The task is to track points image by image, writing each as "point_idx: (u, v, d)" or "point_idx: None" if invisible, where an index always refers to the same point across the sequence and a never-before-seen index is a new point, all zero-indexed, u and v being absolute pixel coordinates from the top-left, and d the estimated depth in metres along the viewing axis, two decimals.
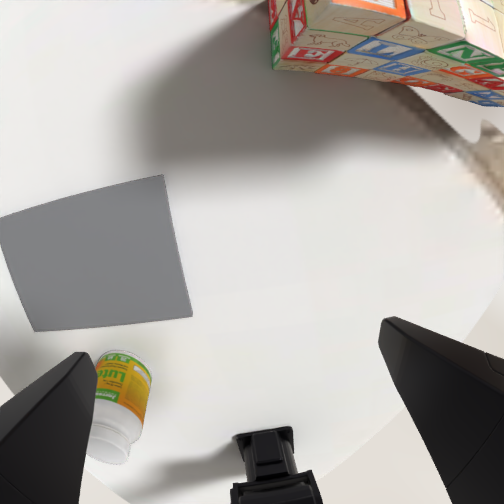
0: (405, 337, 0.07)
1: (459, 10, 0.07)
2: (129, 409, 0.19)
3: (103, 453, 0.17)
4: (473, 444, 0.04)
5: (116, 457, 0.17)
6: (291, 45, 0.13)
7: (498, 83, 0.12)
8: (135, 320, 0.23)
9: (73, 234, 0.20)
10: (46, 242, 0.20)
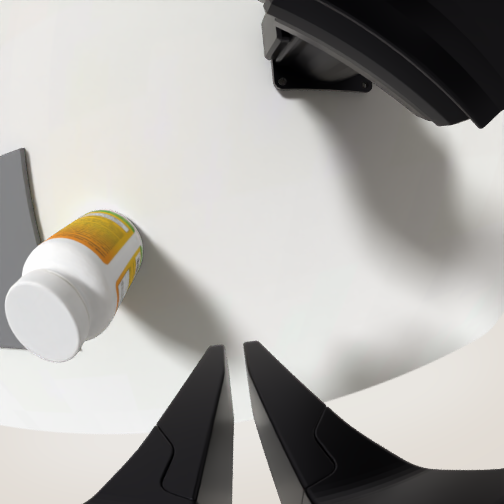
0: (247, 368, 0.07)
1: None
2: None
3: (43, 326, 0.10)
4: None
5: (43, 306, 0.10)
6: None
7: None
8: (27, 215, 0.17)
9: None
10: None
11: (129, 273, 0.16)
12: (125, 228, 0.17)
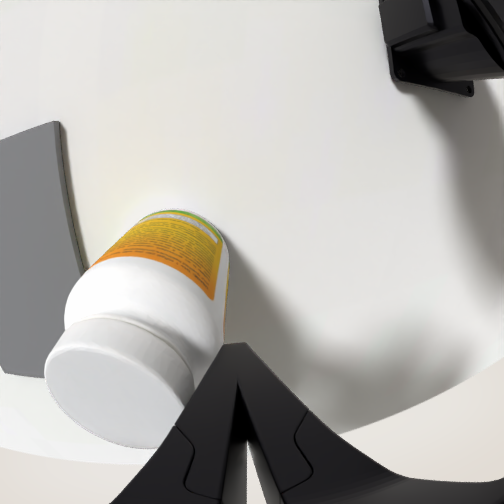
0: (233, 370, 0.07)
1: None
2: (87, 270, 0.08)
3: (119, 409, 0.06)
4: None
5: (124, 385, 0.06)
6: None
7: None
8: (60, 213, 0.13)
9: None
10: None
11: (226, 303, 0.12)
12: (214, 238, 0.13)
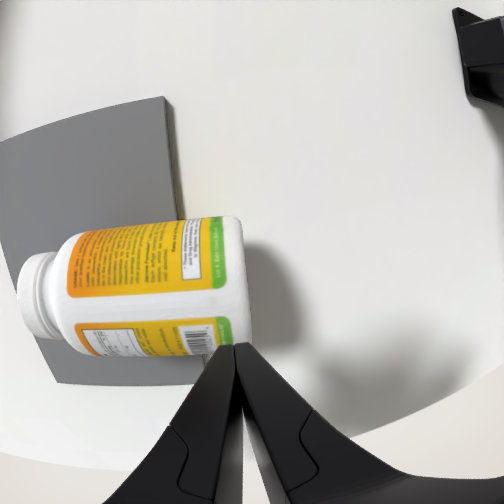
0: (236, 369, 0.07)
1: None
2: None
3: None
4: None
5: None
6: None
7: None
8: (167, 199, 0.13)
9: None
10: None
11: (137, 335, 0.10)
12: (190, 272, 0.09)
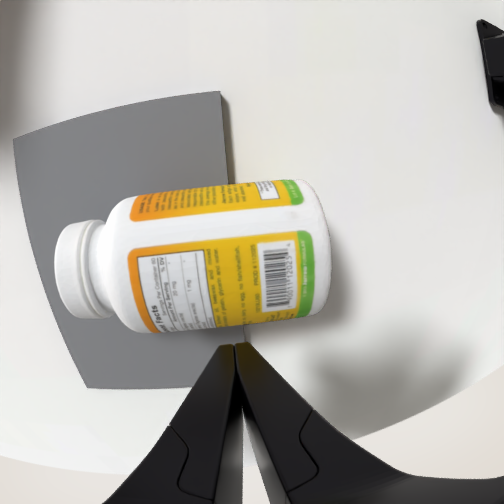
0: (236, 369, 0.07)
1: None
2: None
3: None
4: None
5: None
6: None
7: None
8: None
9: None
10: (97, 319, 0.15)
11: (207, 259, 0.09)
12: (268, 195, 0.10)
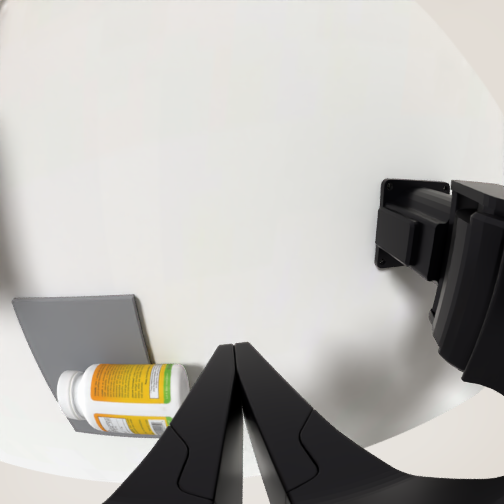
0: (236, 369, 0.07)
1: None
2: None
3: None
4: None
5: None
6: None
7: None
8: (141, 353, 0.21)
9: None
10: None
11: (127, 422, 0.17)
12: (153, 395, 0.17)
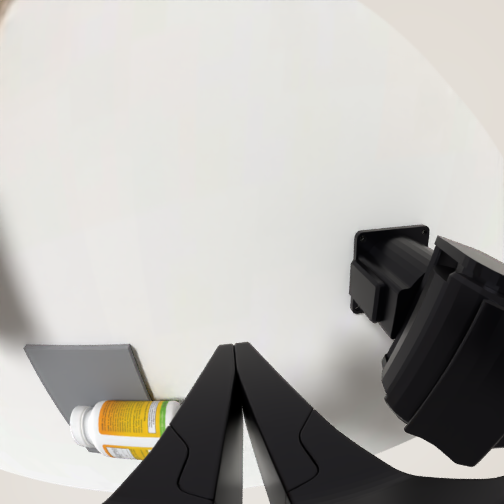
0: (236, 369, 0.07)
1: None
2: (110, 400, 0.22)
3: None
4: None
5: None
6: None
7: None
8: (141, 391, 0.23)
9: None
10: None
11: (131, 451, 0.18)
12: (151, 430, 0.19)
